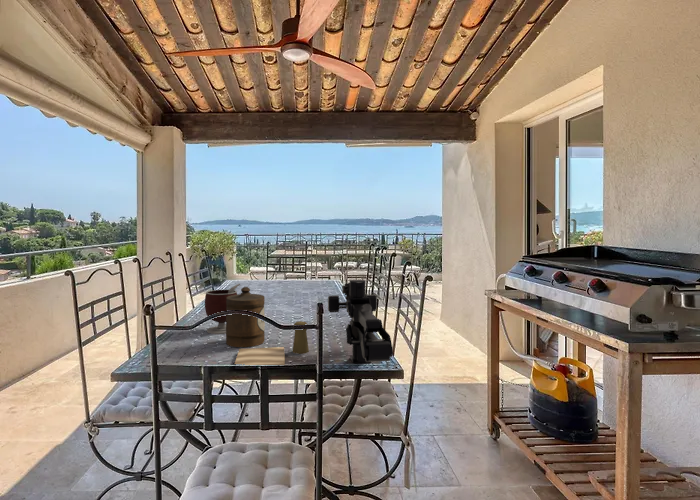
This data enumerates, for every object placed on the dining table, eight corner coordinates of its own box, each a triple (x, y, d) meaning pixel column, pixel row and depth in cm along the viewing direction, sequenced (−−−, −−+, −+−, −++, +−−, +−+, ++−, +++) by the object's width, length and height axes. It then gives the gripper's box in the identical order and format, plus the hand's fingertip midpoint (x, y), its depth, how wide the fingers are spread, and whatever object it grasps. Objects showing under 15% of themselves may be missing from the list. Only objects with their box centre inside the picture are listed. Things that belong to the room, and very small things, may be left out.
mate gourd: (212, 336, 173) (211, 288, 172) (200, 329, 184) (199, 284, 182) (246, 330, 183) (246, 285, 181) (233, 324, 193) (233, 281, 192)
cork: (301, 354, 150) (302, 324, 149) (288, 352, 153) (289, 322, 152) (312, 350, 155) (312, 321, 154) (299, 347, 158) (299, 319, 157)
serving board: (284, 367, 136) (284, 363, 136) (234, 370, 134) (234, 365, 133) (284, 351, 154) (284, 347, 154) (239, 352, 151) (239, 348, 151)
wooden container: (269, 344, 163) (269, 288, 161) (231, 349, 155) (231, 291, 154) (257, 335, 175) (257, 283, 174) (221, 340, 168) (221, 285, 166)
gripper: (380, 284, 154) (371, 279, 169) (330, 285, 151) (325, 280, 166) (380, 314, 155) (371, 306, 170) (330, 316, 152) (325, 307, 167)
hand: (348, 299), depth 168 cm, fingers open, 9 cm apart
